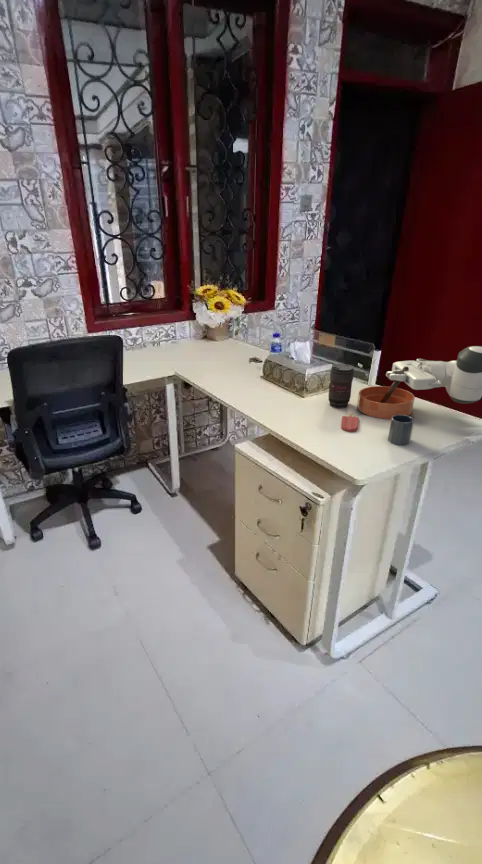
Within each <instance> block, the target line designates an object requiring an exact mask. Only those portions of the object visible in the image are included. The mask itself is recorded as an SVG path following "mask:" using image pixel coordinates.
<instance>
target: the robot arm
mask: <svg viewBox="0 0 482 864" xmlns="http://www.w3.org/2000/svg"><path fill="white" fill-rule="evenodd" d="M405 366H407V367H408V368H409V370H408V371H404V374H401V375H399V373H400V372H401V370H402V369H403V368H404V367H405ZM385 376H386V377H387V378H388V380H390V381H395V380H397V381H401V382H404V383H405V385H407V386H408V387H409V388H410V389H412V390H415V391H420V390H421V391H422V390H431V389H434V388H442V387H444V388H445V391H446V393H447V394H448V396H449V397H450V399H451V400H452V401H453V402H454V403H457V404H463V405H465V404H468V405H469V404H473V403H476V402H478V401H480V400H481V399H482V345H471V346H467V347H465V348H463V349H462V350H460V351H459V352H458V354H457V359H456V360H450V361H443V360H427V359H424V358H416V360H402V361H401V360H400V361H395V362H393V363H392V367H391V370H390V371H389V370H388V371H386V373H385Z"/></svg>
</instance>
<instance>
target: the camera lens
mask: <svg viewBox="0 0 482 864" xmlns="http://www.w3.org/2000/svg"><path fill="white" fill-rule="evenodd" d="M354 374H355V368H354V366H353V365H351V364H347V363H334V364H332V365H331V369H330V374H329V383H328V388H329V389H328V402H329V403H328V404H329V406H330V407H333V408H336V409H343V408H347V407H348V406H349V403H350V401H351V396H352V388H353V387H352V386H353V380H354Z"/></svg>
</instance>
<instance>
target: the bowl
mask: <svg viewBox="0 0 482 864" xmlns="http://www.w3.org/2000/svg"><path fill="white" fill-rule="evenodd" d="M390 387H391V386H386V385H375V386H367V387H363V388H362V389H360V390H359V391H358V396H357V402H356V403H357V404H356V408H357V410H359V412H360V413H362V414H364V415H366V416H368V417H372V418H377V419H383V420H384V419H385V420H391V417H392V416H394V415H407V416H410V415H412V413H413V408H414V402H415V397H416V396H415V395H414V394H413V393H412V392H410V391H409V390H407V389H403V388H401V387H397V388H396V389H395V390H394V392H393V393H392V395H391V396H390V398H389V399H388V401H387V402H386V403H380V401H381V400H382V398H383V397H384V395H385V394H386V393H387V391H388V390H389V388H390Z"/></svg>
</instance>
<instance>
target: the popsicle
mask: <svg viewBox="0 0 482 864" xmlns="http://www.w3.org/2000/svg"><path fill="white" fill-rule="evenodd" d="M359 419H360V418H359V416H353V413H352V412H349V413H348V415H342V417H341V426H340V428H341V431H343V432H345V433H346V432H347V433H354V432H357V431H358V427H359Z"/></svg>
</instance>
